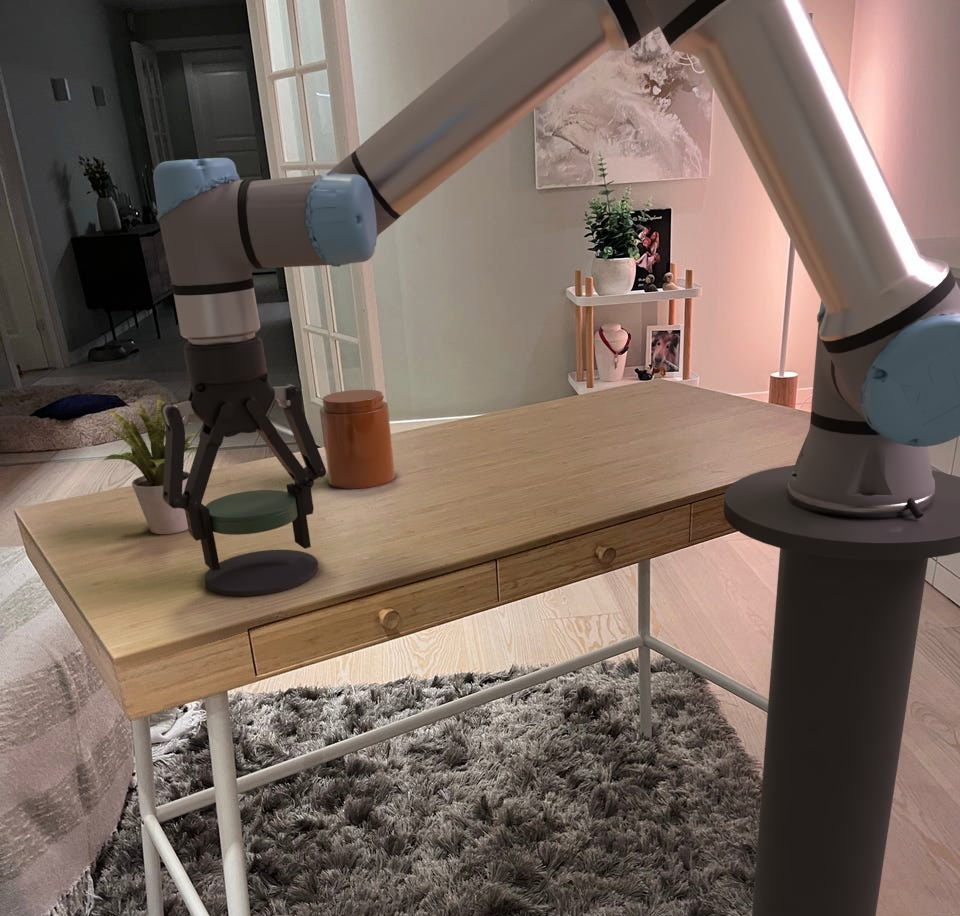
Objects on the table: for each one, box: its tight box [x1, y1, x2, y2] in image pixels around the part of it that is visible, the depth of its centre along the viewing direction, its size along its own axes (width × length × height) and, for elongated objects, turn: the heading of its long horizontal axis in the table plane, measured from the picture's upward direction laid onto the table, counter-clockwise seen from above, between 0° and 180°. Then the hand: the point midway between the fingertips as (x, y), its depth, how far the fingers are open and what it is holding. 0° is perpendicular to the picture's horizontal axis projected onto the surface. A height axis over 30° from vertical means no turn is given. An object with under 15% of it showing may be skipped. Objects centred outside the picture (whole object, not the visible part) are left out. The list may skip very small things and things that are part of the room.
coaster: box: [204, 549, 320, 597], centre depth 104 cm, size 12×12×1 cm
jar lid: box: [205, 489, 298, 536], centre depth 101 cm, size 10×9×2 cm
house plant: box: [100, 393, 201, 535], centre depth 117 cm, size 14×14×16 cm
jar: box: [319, 389, 396, 490], centre depth 133 cm, size 9×9×12 cm
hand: (258, 555), depth 103 cm, fingers closed on jar lid, 9 cm apart
